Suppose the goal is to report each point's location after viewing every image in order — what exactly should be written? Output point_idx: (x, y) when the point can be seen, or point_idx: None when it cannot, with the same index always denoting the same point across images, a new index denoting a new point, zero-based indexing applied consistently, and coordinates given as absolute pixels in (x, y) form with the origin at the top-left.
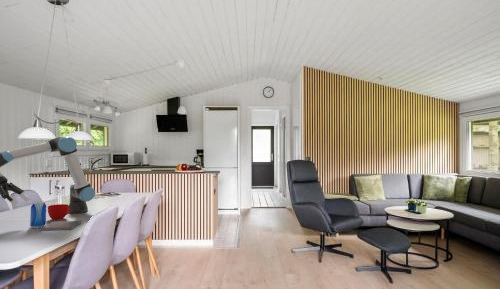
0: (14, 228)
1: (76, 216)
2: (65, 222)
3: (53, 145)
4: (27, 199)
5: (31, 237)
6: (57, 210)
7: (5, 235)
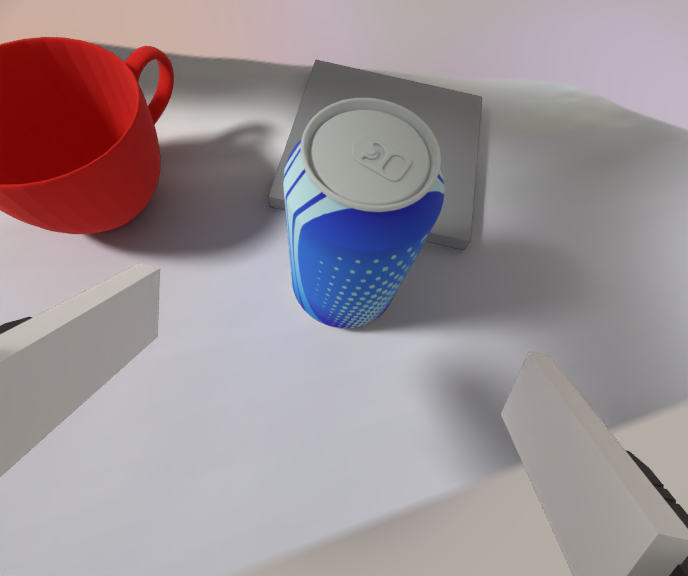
0: (346, 446)
1: None
2: None
3: None
4: (145, 303)
5: (627, 264)
6: (151, 130)
7: None
